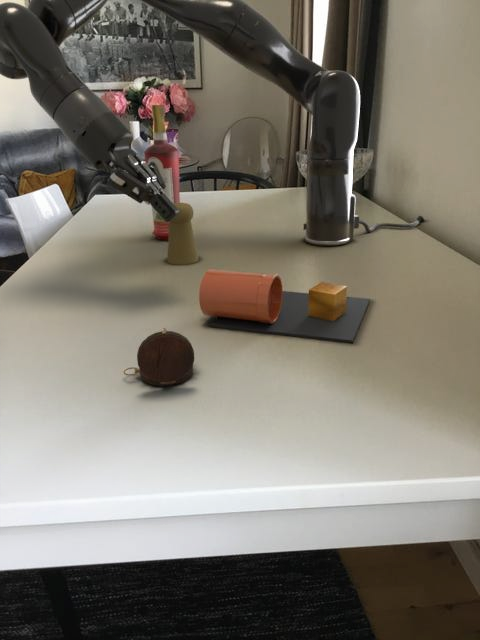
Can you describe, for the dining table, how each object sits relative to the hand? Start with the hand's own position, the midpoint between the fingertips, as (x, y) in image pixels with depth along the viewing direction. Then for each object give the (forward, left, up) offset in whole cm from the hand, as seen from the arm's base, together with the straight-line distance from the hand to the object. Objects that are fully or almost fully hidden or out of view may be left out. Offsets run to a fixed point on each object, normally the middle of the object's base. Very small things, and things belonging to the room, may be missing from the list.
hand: (173, 217), depth 84 cm
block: (-18, +16, -9) cm, 25 cm away
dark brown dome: (+9, +24, -13) cm, 29 cm away
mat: (-14, +12, -13) cm, 23 cm away
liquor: (-9, -41, -13) cm, 44 cm away
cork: (-7, -22, -13) cm, 27 cm away
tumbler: (-2, +8, -10) cm, 13 cm away
